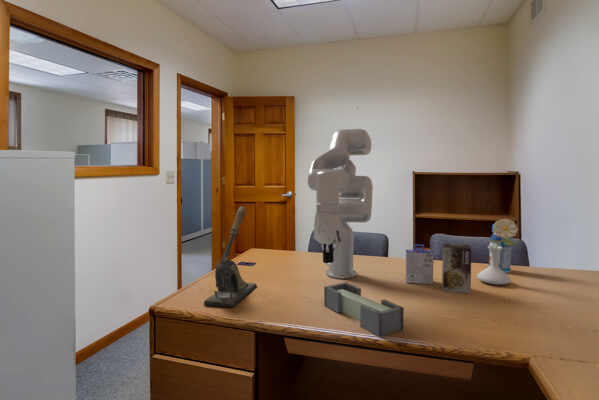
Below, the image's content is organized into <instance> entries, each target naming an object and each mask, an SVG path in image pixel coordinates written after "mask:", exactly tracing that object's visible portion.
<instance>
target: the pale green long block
mask: <svg viewBox="0 0 599 400" xmlns="http://www.w3.org/2000/svg"><path fill="white" fill-rule="evenodd" d="M337 291H339V292H341V312H340V313H343V314H345V315H348V317H349V316H350V317H352V318H353V319H356V320H358V321H360V309H361V305H363V304H364V305H366V306H368V307H370V308H372V309H374V310H376V311H379V312H381V311H384V310H388V309H392V308H390V307H387V306H385V305H382V304H381V302H380V303H379V302H377V301H374V300H371V299H370V298H367V297H364V296H362V295H361V296H359V295H357V294H354V293H352V292H349V291H347V290H344V289H340V290H337Z"/></svg>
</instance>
